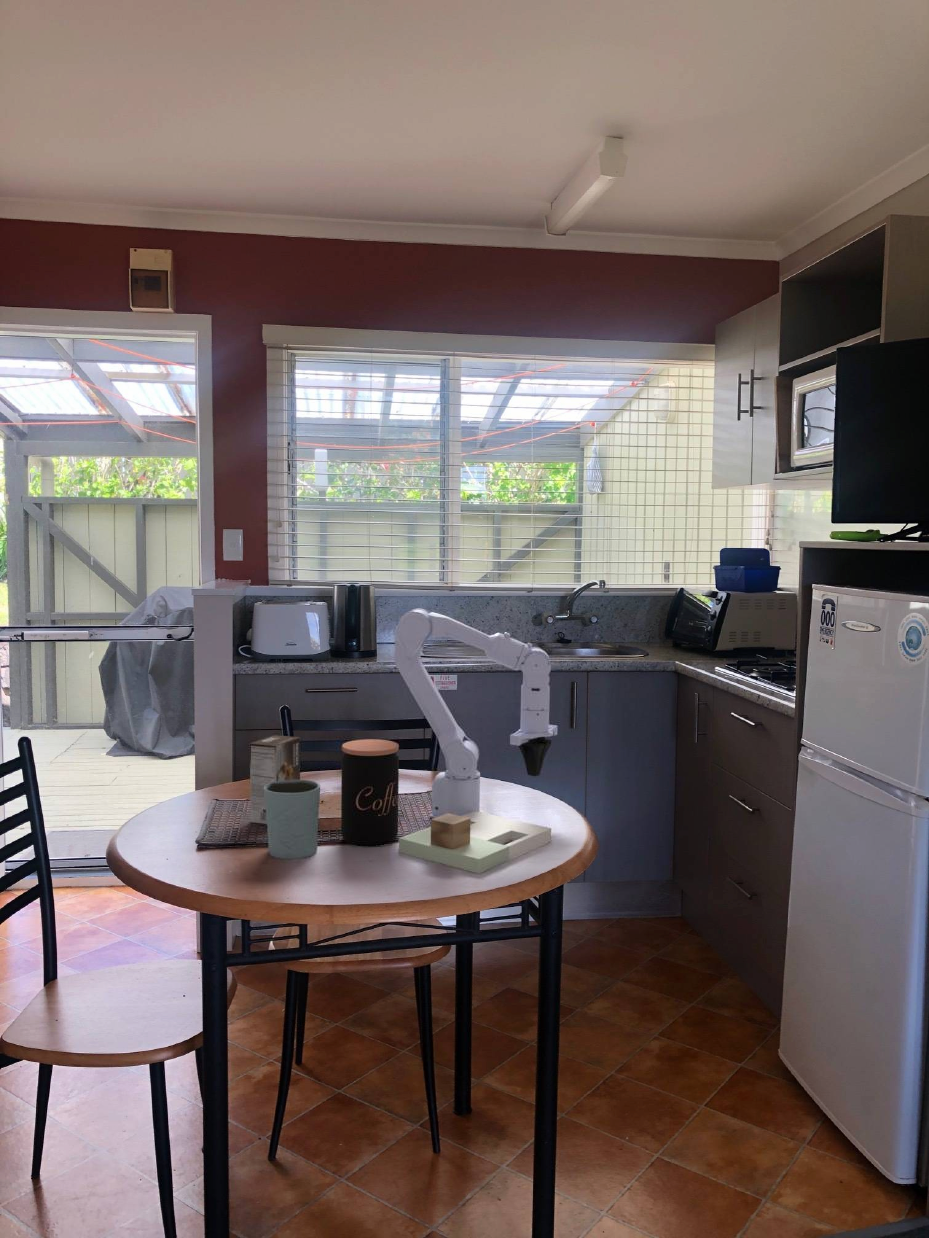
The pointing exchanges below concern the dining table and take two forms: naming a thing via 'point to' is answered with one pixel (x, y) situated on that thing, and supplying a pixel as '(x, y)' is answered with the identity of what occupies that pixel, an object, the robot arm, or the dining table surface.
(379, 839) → the coffee jar
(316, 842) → the pale green cup
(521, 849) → the pale green slotted tray
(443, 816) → the block
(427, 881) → the dining table surface
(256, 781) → the coffee box
